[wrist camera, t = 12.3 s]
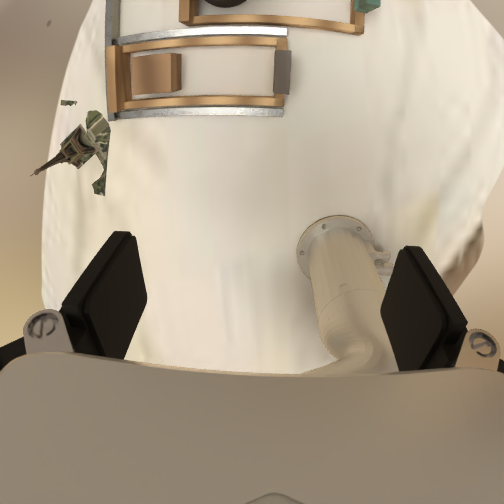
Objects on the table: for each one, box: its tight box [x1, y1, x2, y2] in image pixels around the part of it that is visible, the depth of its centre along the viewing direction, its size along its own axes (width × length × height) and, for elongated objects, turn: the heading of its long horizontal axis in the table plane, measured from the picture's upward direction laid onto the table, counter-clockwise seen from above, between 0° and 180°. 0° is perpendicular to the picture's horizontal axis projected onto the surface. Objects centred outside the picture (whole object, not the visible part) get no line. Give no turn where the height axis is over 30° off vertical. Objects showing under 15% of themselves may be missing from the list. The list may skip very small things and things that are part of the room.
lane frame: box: [105, 0, 287, 121], centre depth 32 cm, size 24×26×2 cm
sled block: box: [106, 36, 291, 113], centre depth 33 cm, size 22×9×8 cm, turn 88°
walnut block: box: [132, 53, 181, 95], centre depth 35 cm, size 5×5×5 cm
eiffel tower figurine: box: [31, 100, 111, 196], centre depth 37 cm, size 15×10×13 cm
